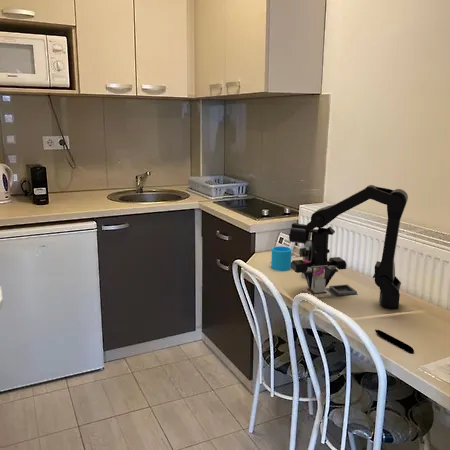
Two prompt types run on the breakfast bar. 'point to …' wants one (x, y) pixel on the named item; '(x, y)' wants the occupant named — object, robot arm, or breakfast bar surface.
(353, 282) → the breakfast bar surface
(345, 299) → the breakfast bar surface
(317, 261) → the robot arm
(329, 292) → the dark grey double tray
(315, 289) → the block
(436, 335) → the breakfast bar surface
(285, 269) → the mug
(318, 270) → the candy bar box
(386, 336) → the pen
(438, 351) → the breakfast bar surface
